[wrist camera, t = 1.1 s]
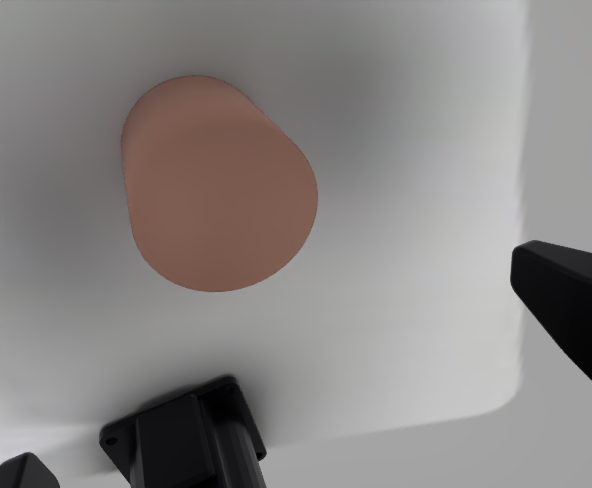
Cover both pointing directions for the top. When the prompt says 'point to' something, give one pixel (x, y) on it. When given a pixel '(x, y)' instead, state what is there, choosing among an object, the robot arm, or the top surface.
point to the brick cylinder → (213, 186)
